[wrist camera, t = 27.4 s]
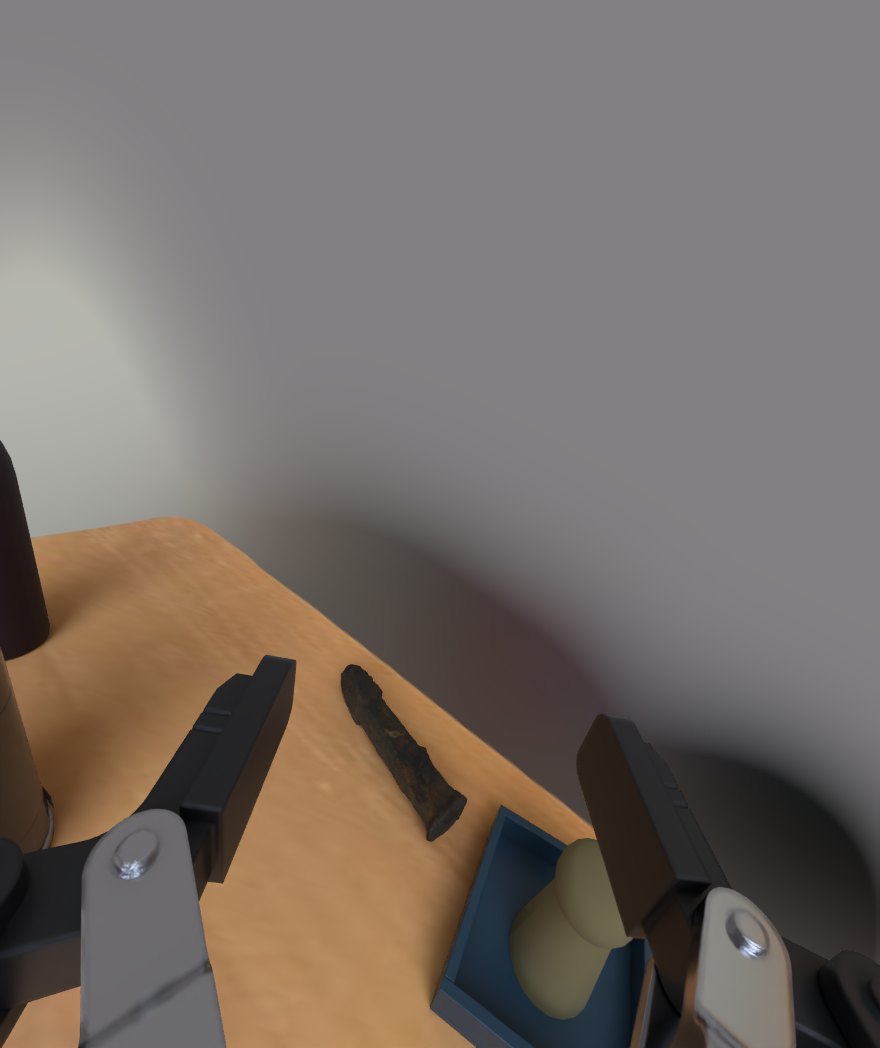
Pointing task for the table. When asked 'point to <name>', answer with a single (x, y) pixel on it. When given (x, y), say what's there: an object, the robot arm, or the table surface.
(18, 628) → the wine bottle
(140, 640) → the table surface
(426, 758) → the rusty railroad spike
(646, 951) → the caddy
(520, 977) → the cork
